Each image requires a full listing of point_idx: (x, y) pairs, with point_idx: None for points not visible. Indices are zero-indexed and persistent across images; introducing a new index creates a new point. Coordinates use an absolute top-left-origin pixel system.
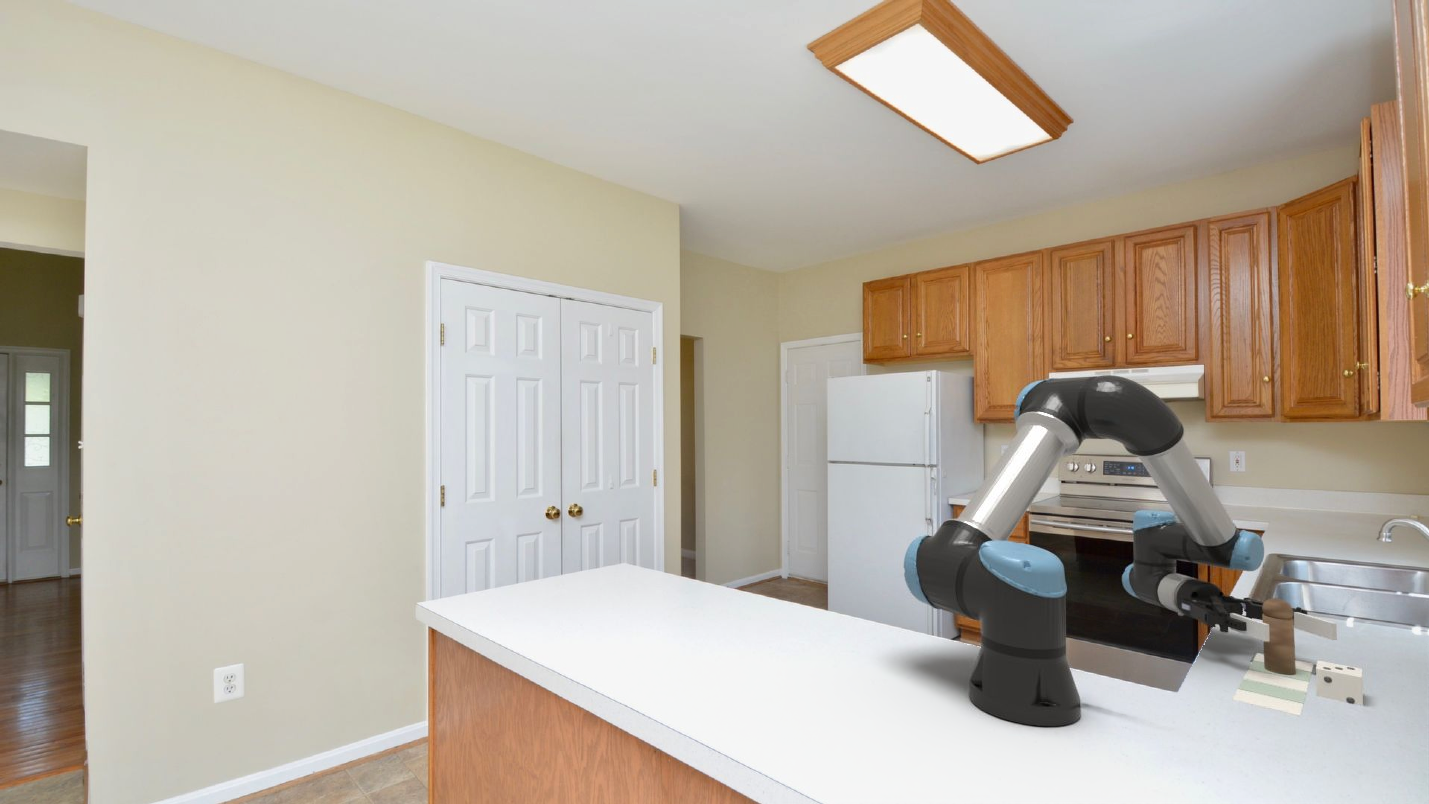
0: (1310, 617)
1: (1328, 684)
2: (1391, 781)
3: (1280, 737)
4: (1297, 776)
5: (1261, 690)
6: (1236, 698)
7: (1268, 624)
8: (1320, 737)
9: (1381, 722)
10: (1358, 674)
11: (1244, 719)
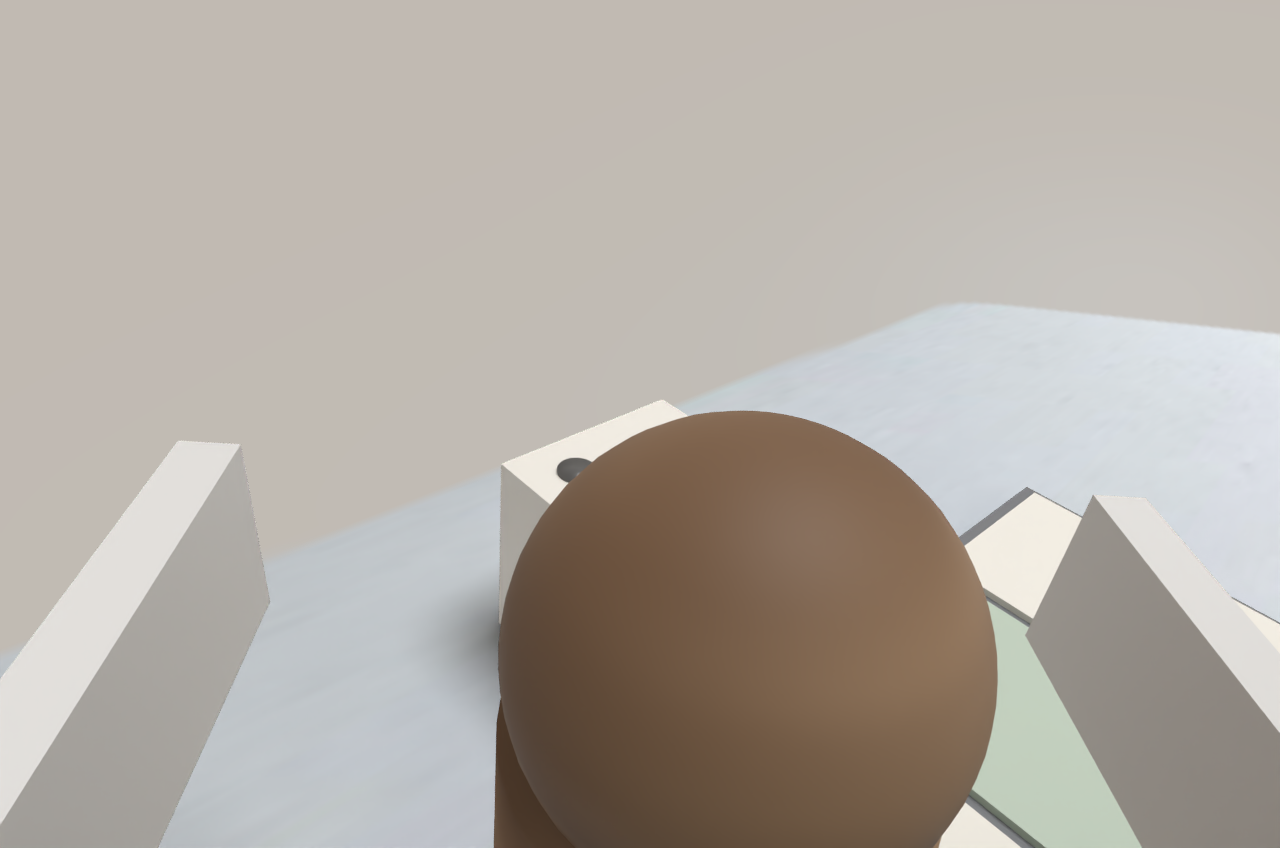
0: (98, 678)
1: None
2: (979, 322)
3: (1161, 461)
4: (1200, 355)
5: None
6: (1275, 641)
7: (1100, 495)
8: (1016, 447)
9: None
10: (632, 422)
11: (1255, 561)
